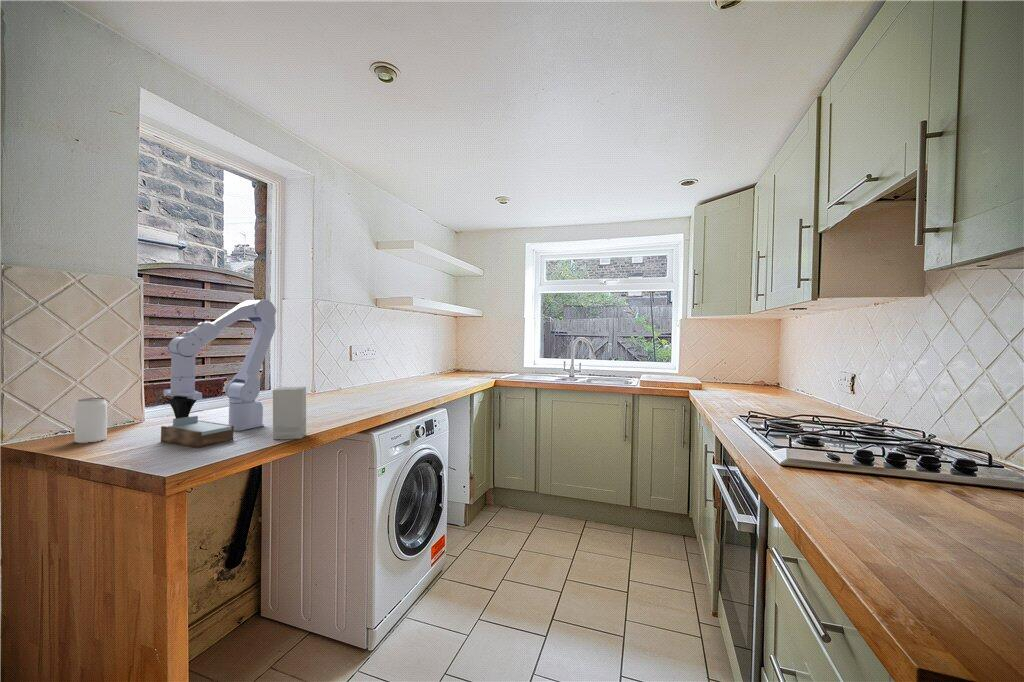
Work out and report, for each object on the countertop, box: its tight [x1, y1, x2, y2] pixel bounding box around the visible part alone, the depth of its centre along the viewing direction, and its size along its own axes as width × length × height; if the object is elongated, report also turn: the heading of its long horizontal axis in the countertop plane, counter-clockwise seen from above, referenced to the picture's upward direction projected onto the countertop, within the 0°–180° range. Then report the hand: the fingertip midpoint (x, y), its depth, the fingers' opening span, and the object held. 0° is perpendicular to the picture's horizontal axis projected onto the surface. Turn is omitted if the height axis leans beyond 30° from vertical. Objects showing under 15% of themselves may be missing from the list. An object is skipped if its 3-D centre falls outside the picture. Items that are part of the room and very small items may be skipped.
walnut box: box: [160, 419, 235, 449], centre depth 121 cm, size 16×10×4 cm, turn 70°
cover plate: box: [167, 415, 232, 435], centre depth 121 cm, size 15×8×3 cm, turn 69°
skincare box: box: [272, 386, 307, 440], centre depth 128 cm, size 8×7×16 cm
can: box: [73, 397, 108, 444], centre depth 117 cm, size 6×6×12 cm
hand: (181, 421), depth 123 cm, fingers closed
